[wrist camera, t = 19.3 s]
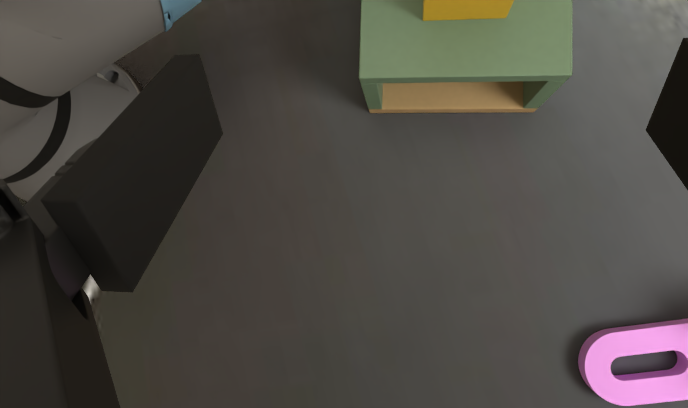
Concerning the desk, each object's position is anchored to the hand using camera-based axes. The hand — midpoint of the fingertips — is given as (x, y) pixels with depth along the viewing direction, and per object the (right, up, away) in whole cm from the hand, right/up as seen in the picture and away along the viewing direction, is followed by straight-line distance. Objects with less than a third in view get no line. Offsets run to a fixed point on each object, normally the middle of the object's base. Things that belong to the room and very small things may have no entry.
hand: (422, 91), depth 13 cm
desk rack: (+7, +13, +27) cm, 31 cm away
